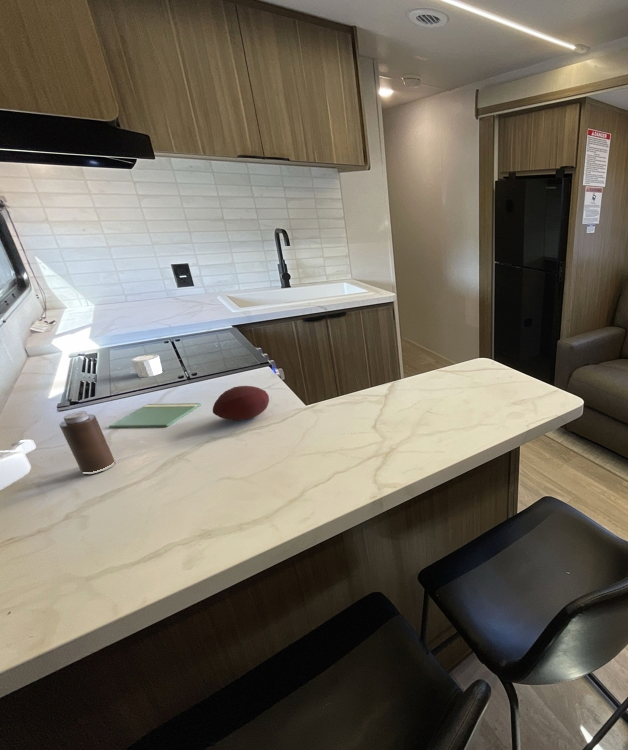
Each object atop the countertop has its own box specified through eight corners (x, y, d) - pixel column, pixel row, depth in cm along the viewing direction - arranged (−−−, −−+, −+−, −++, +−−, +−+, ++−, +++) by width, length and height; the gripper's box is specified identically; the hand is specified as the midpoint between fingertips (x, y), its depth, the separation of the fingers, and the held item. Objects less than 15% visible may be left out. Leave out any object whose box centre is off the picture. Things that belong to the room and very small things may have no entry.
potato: (282, 410, 105) (275, 381, 102) (248, 431, 95) (239, 399, 92) (245, 406, 108) (237, 377, 104) (208, 426, 97) (199, 395, 94)
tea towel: (109, 427, 97) (108, 425, 97) (149, 405, 108) (148, 403, 108) (167, 426, 97) (166, 424, 97) (201, 405, 109) (200, 402, 108)
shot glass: (161, 372, 131) (154, 352, 129) (169, 377, 128) (162, 356, 125) (135, 379, 126) (127, 358, 124) (142, 384, 123) (134, 362, 120)
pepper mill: (74, 475, 79) (48, 420, 75) (98, 461, 84) (74, 408, 79) (100, 475, 79) (75, 420, 75) (122, 460, 84) (99, 408, 79)
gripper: (-184, 520, 54) (-53, 461, 67) (-31, 517, 54) (70, 459, 67) (-216, 481, 51) (-74, 428, 64) (-55, 478, 52) (54, 425, 64)
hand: (1, 444), depth 66 cm, fingers open, 8 cm apart
